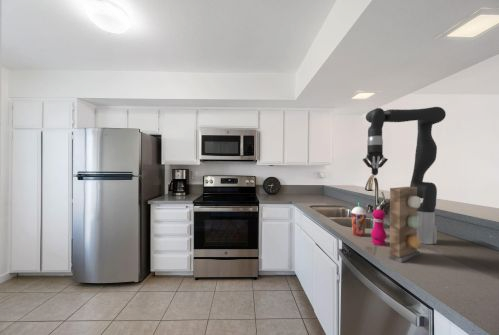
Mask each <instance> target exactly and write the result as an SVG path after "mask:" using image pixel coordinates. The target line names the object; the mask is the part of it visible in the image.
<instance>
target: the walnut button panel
mask: <svg viewBox="0 0 499 335" xmlns="http://www.w3.org/2000/svg"><path fill="white" fill-rule="evenodd" d="M409 196H416V197H417V187H410V186H401V187H390V188H389V255H388V258H389V259H390V260H393V261H395V262H398V263H403V262H406V261H409V260H410V259H412V258H415V257H418V256H420V252H421V251H419V250H417V249H418V248H414V247H410V246H408V244H407V239H408V237H409V235H412V236H416V237H417V228H414V227H409V226H408V224H407V220H408V217H409V216H416V217H417V208H414V207H409V206H408V203H407V201H408V197H409Z"/></svg>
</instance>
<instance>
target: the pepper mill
mask: <svg viewBox="0 0 499 335" xmlns="http://www.w3.org/2000/svg"><path fill="white" fill-rule="evenodd" d="M372 217H373V221H374V226H373V229H372V230H371V232H370V236H371V238H372V239H371V242H372V244H373V245H376V246H382V247H384V246H386V239H387V233H386V230H385V228H384V222H385V218H386V212H385V211H384V210H382V209H381V207H380V206H377V207H376V209H375V210H373V211H372Z"/></svg>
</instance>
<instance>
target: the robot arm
mask: <svg viewBox="0 0 499 335" xmlns="http://www.w3.org/2000/svg"><path fill="white" fill-rule="evenodd" d="M446 114H447V113H446V111H445V109H444V108H442V107H440V106H433V107H426V108H425V107H424V108H414V109H413V108H412V109H387V110H384V109H383V108H381V107H377V108H374V109H372V110H369V111H368V112H367V113H366V115H365V119H366V121H367V122H368V123H370V126H369V127H368V130H367V140H366V142H367V146H366V147H367V151H366V152H367V154H366V157H364V158H363V159H362V161H363V163H364V164H365V165H366V166H367V167H368V168H370V169H371V175H372V176H377V175H378V174H379V168H382V167H383V166H384V165H385V164H386V163H387V162H388V160H389V159H388V158H386V157H385V156H384V154H383V153H384V152H383V149H384V148H383V147H384V146H383V145H384V141H383V127H384V124H385V123H405V122H413V121H417V138H416V148H415V153H414V154H415V155H414V166H413V172H412V176H411V180H410V185H409V187H417V197H419V198H420V199H422V202H421V203H420V207H419V208H417V217H419V218H420V226H419V228H417V237H419V238H420V244H424V245H434V244H435V245H436V244H437V226H436V225H435V223H436V220H435V217H436V216H435V215H436V214H435V213H436V212H435V210H436V207H437V196H438V189H437V185H436V184H435V183H433V182H429V181H428V182H427V181H424V177H425V174H426V172H427V171H428V170H429V169H430V167H432V165H433V164H434V162H435V161H436V158H437V152H438V147H437V143H436V141H435V140H434V138H433V135H432V132H433V130H432V129H433V125H435V124H438V123H441V122H442V121H444V120H445V118H446Z"/></svg>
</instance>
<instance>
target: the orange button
mask: <svg viewBox="0 0 499 335" xmlns="http://www.w3.org/2000/svg"><path fill="white" fill-rule="evenodd" d="M407 244H408V246H410V247H414V248H417V249H419V248H420V246H421V243H420V238H419V237H416V236H412V235H409V237H408V239H407Z"/></svg>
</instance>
